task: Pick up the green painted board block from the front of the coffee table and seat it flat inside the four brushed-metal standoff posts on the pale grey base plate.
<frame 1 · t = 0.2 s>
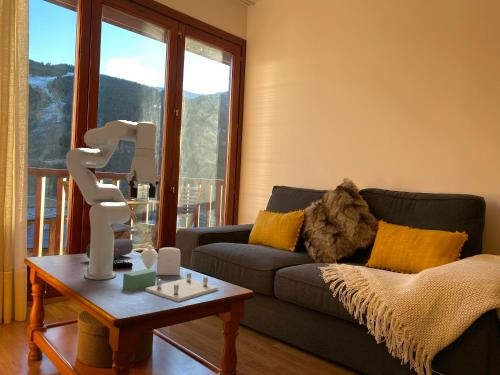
hand: (142, 197, 156), 36 cm above the table, tool pointing down, fingers open, 9 cm apart
bluetooth speaker: (109, 259, 205), on the table
board block: (139, 287, 160), on the table
spinning top: (148, 271, 185), on the table
standoff plate: (182, 290, 158), on the table
photo printer: (168, 275, 182), on the table
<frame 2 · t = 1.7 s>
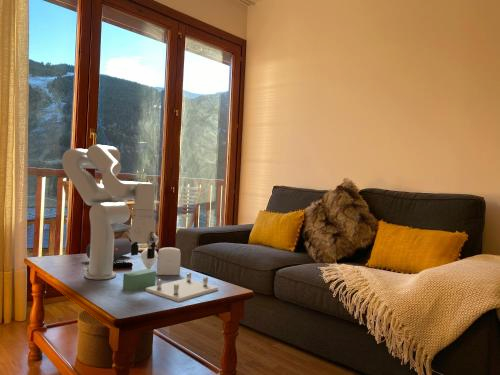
hand: (142, 256, 159), 12 cm above the table, tool pointing down, fingers open, 9 cm apart
nothing on the table moved.
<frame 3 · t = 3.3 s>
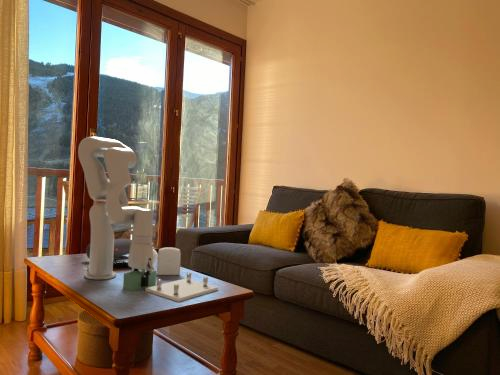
hand: (139, 284, 159), 1 cm above the table, tool pointing down, fingers closed on board block, 5 cm apart
board block: (139, 286, 159), on the table, touching gripper
everything else where it was.
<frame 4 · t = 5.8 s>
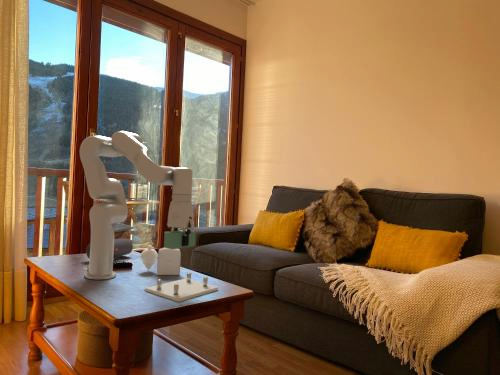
hand: (180, 244, 158), 18 cm above the table, tool pointing down, fingers closed on board block, 5 cm apart
board block: (179, 246, 158), point 17 cm above the table, touching gripper
everything else where it was.
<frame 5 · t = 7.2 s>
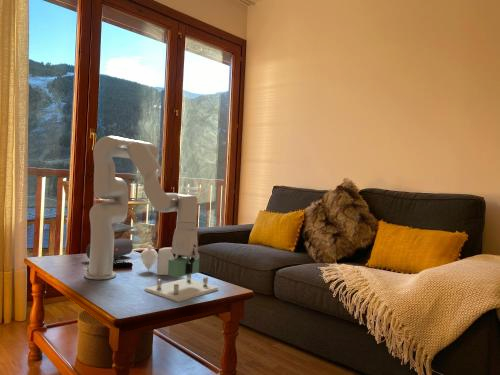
hand: (183, 271, 158), 8 cm above the table, tool pointing down, fingers closed on board block, 5 cm apart
board block: (183, 273, 158), point 7 cm above the table, touching gripper
everything else where it was.
when the fingers open (3 cm above the table, at t = 8.5 s): board block drops 1 cm, resting on standoff plate.
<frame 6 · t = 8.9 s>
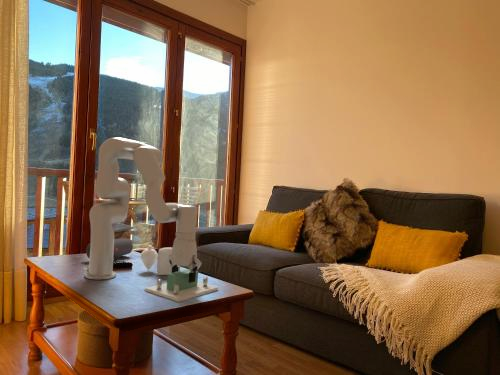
hand: (183, 279, 158), 4 cm above the table, tool pointing down, fingers open, 9 cm apart
board block: (182, 287, 158), point 1 cm above the table, touching standoff plate
everything else where it was.
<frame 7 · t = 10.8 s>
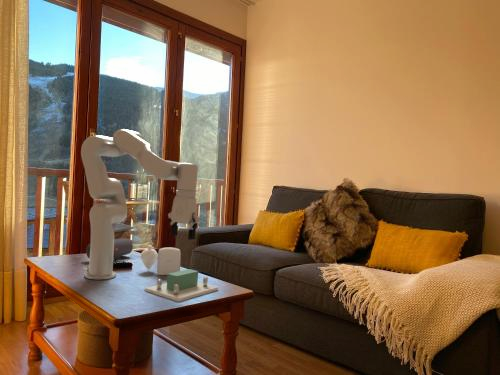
hand: (182, 237, 159), 21 cm above the table, tool pointing down, fingers open, 9 cm apart
nothing on the table moved.
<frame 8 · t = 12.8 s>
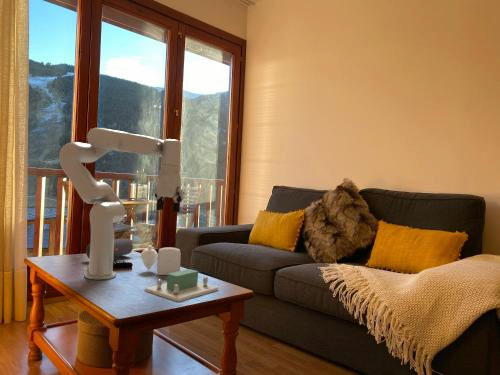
hand: (167, 211, 165), 30 cm above the table, tool pointing down, fingers open, 9 cm apart
nothing on the table moved.
at the end: board block 0.1 cm off-centre on the standoff plate, point 1.2 cm above the standoff plate's base; board block tilted 0°; the gripper is holding nothing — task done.
